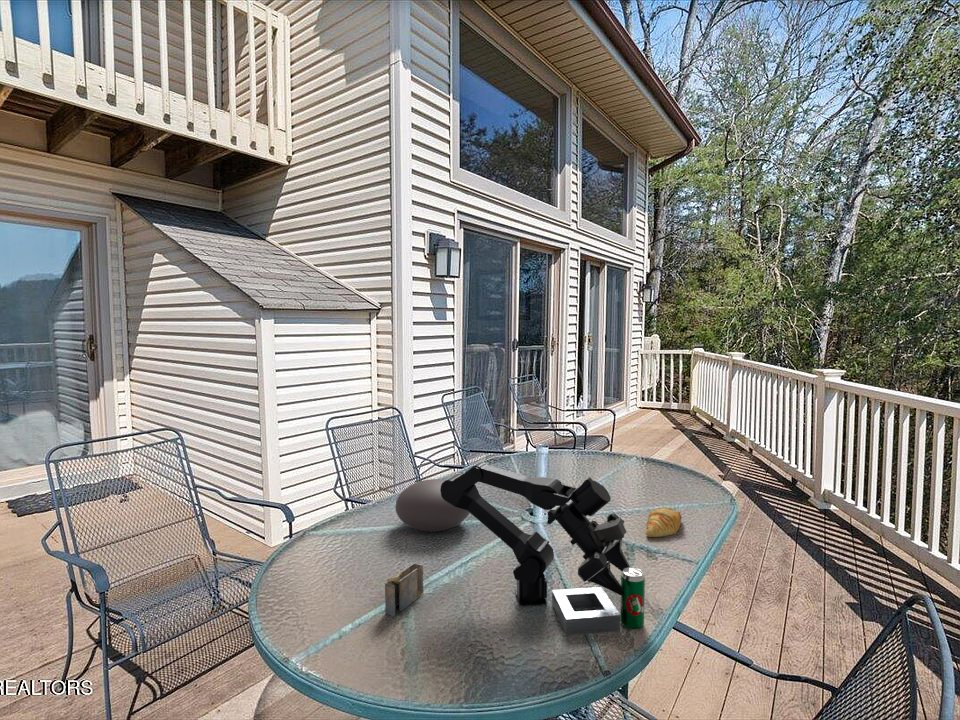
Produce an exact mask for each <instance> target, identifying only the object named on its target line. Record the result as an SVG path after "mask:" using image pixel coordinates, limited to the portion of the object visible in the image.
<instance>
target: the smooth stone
mask: <svg viewBox="0 0 960 720" xmlns="http://www.w3.org/2000/svg"><path fill="white" fill-rule="evenodd" d="M446 480H447V479H439V478H433V479H423V480H420V481H417V482H415V483H413V484H411V485H410V484H409V486H408V487H406V488H405V489H403V490H402V492H400V494H399V495H398V497H397V499H396V502H395V507H394V508H395V513H396V515H397V518H399V520H400V521H402V522H403V523H404V524H405V525H406V526H408V527H410V528H412V529H413V530H414V529H415V530H418V531H422V532H429V533H430V532H441V531H446V530H448V529H451V528H454V527H456V526H458V525H459V524H460V525H461V523H462V522H464V521H465V520H466V519H467V517H468V516H469V515H470V514H471V513H470V512H468V511H467V510H463V509H460V508H457V507H454V506H453V505H451V504H449V503H448V502H446V501H445V500H444V499H443V498H442V496H441V491H440V488H441V485H442V483H443V482H444V481H446Z"/></svg>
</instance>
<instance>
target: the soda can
mask: <svg viewBox="0 0 960 720" xmlns="http://www.w3.org/2000/svg"><path fill="white" fill-rule="evenodd" d="M621 572H622V571H621ZM620 585H621V587H622V588H623V590H624V591H625V593H624V594H623V595H620V608H619V609H620V612H619V614H620V624H621V625H622V626H623V627H624V628H626V629H629V630H636V631H637V630H640V629H642V628H643V627H644V625H645V598H646V597H645V595H646V594H645V593H646V588H645V587H646V576H645V575H644V571H642V570H641V569H639V568H636V567H631V566H630V567H628V568H625V569H623V572H622V573H621V574H620Z"/></svg>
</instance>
